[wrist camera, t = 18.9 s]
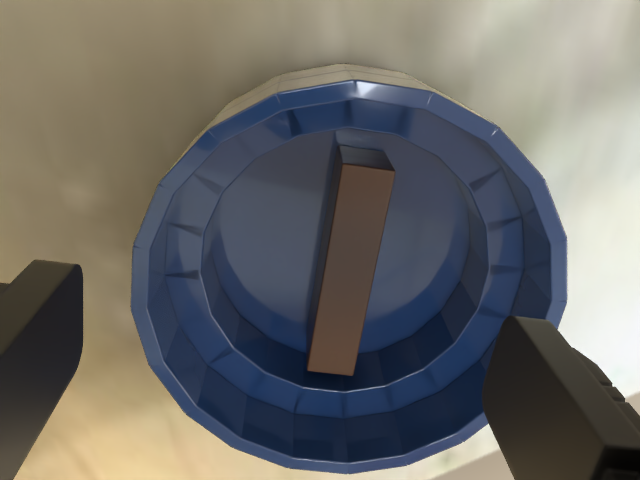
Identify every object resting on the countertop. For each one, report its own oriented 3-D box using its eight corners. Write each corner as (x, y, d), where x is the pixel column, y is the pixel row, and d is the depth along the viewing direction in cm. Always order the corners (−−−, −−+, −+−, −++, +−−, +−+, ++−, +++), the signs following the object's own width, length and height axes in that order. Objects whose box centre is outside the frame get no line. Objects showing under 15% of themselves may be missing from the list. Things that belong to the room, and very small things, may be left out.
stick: (348, 338, 27) (353, 376, 24) (305, 333, 27) (306, 371, 24) (385, 151, 24) (396, 170, 21) (337, 144, 24) (342, 163, 21)
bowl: (160, 364, 28) (124, 453, 22) (179, 35, 22) (138, 45, 17) (463, 398, 29) (501, 490, 24) (553, 94, 24) (631, 121, 18)
